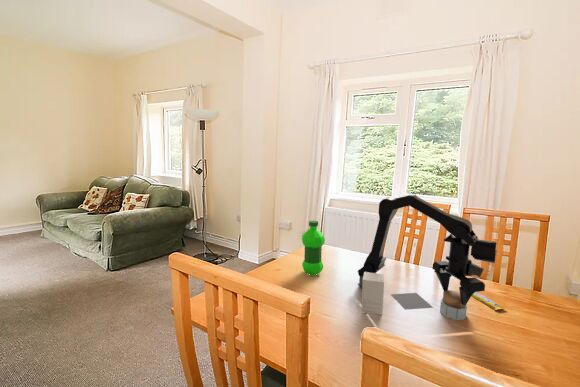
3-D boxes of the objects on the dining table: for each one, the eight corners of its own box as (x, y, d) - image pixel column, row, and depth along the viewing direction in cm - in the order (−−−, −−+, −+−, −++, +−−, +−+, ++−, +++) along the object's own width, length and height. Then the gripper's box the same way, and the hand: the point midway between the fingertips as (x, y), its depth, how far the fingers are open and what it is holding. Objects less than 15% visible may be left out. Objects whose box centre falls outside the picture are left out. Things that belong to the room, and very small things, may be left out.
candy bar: (460, 291, 120) (460, 287, 119) (468, 290, 121) (468, 286, 120) (496, 313, 103) (497, 308, 103) (506, 312, 104) (506, 307, 104)
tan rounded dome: (451, 309, 97) (452, 300, 96) (438, 298, 104) (438, 290, 103) (470, 307, 98) (471, 299, 97) (455, 297, 105) (456, 289, 104)
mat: (405, 310, 104) (405, 309, 104) (390, 295, 114) (390, 294, 114) (433, 308, 105) (433, 307, 105) (416, 294, 116) (416, 292, 116)
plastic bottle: (297, 274, 133) (298, 222, 129) (308, 267, 142) (309, 217, 138) (317, 280, 128) (318, 225, 124) (326, 271, 137) (328, 220, 133)
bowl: (450, 322, 97) (451, 309, 96) (435, 309, 105) (436, 298, 104) (471, 320, 98) (472, 308, 97) (455, 308, 106) (456, 296, 105)
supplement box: (382, 306, 107) (384, 273, 105) (382, 316, 100) (384, 282, 98) (362, 302, 109) (364, 271, 107) (360, 312, 102) (362, 279, 100)
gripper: (503, 265, 90) (497, 311, 92) (460, 245, 108) (456, 284, 111) (471, 266, 89) (466, 313, 91) (433, 247, 107) (429, 286, 109)
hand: (454, 298), depth 100 cm, fingers open, 9 cm apart
